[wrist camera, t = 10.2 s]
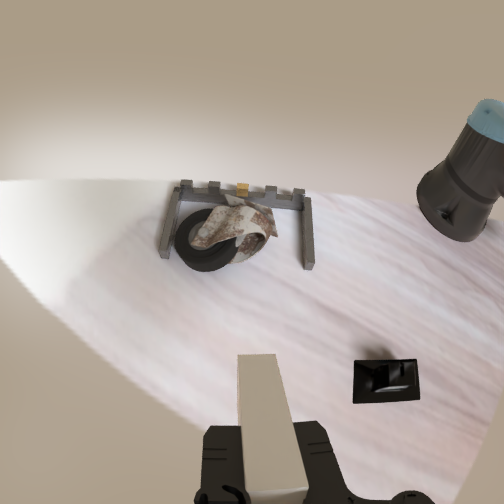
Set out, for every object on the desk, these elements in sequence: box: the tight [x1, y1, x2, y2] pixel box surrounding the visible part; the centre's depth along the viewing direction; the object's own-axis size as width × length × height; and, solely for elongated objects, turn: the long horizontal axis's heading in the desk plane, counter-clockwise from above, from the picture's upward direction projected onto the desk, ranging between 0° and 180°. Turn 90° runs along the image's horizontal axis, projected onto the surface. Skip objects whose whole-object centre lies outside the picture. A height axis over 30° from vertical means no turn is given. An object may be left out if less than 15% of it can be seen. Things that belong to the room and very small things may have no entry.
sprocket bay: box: [159, 180, 315, 270], centre depth 44 cm, size 20×11×4 cm, turn 87°
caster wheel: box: [175, 194, 278, 272], centre depth 42 cm, size 7×11×10 cm
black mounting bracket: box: [353, 359, 420, 404], centre depth 34 cm, size 12×7×5 cm, turn 86°
